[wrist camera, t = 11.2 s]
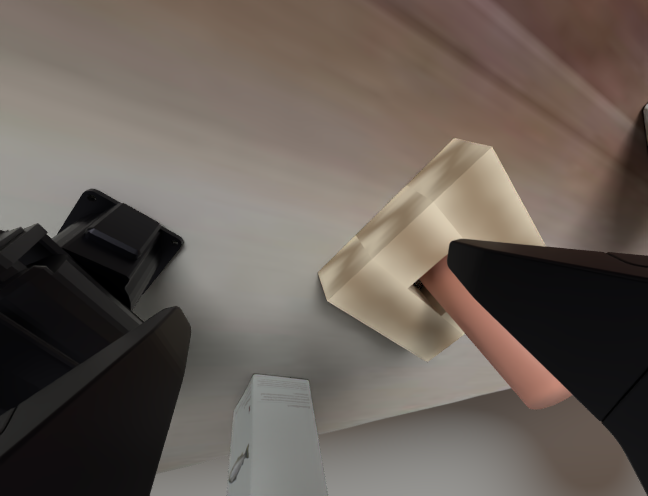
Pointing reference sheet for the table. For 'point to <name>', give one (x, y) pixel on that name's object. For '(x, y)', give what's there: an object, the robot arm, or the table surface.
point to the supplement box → (275, 441)
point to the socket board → (425, 245)
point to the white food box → (646, 120)
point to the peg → (494, 340)
